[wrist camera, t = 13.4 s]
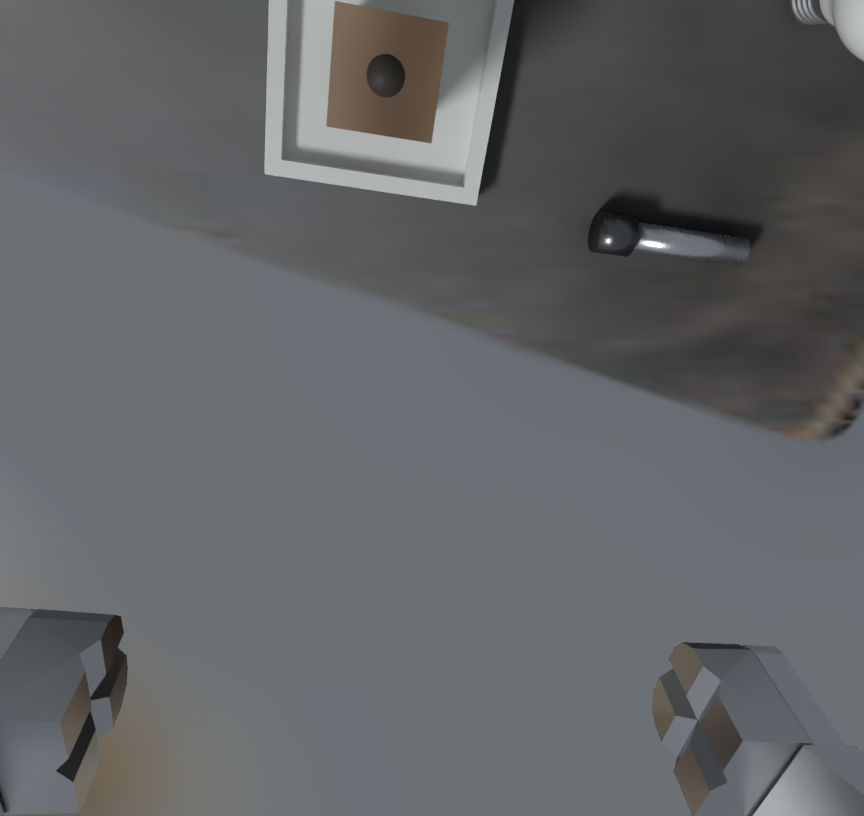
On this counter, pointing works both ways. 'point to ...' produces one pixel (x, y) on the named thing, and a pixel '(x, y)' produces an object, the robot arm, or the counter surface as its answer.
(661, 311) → the counter surface
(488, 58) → the tray
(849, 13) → the lightbulb
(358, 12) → the block
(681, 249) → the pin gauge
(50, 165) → the counter surface
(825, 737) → the robot arm
